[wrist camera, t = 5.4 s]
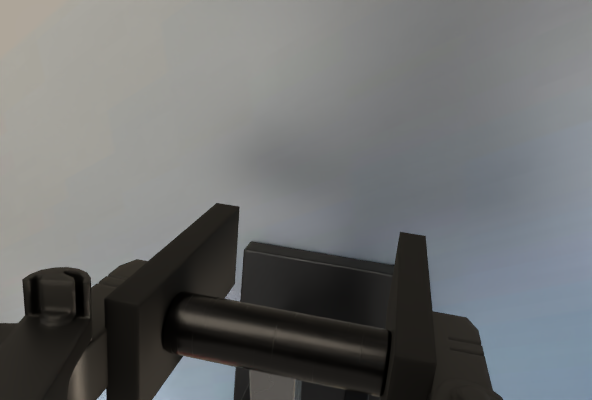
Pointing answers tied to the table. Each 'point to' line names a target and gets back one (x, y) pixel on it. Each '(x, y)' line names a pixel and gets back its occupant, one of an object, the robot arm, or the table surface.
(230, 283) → the robot arm
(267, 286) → the bracket
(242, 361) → the lever
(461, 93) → the table surface
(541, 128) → the table surface
